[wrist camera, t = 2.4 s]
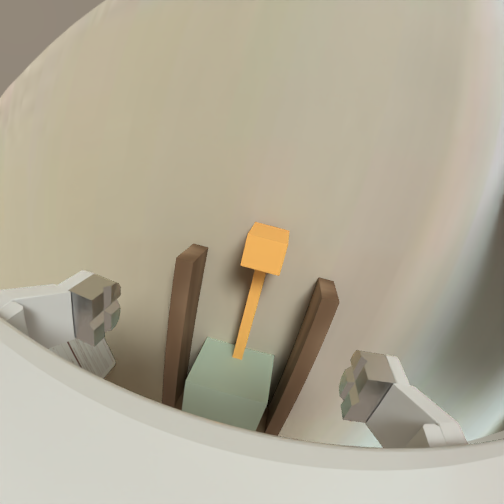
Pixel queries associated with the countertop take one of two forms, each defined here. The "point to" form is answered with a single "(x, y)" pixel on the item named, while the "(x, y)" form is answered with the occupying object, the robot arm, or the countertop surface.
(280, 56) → the countertop surface
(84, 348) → the supplement box
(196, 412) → the block
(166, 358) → the lane
